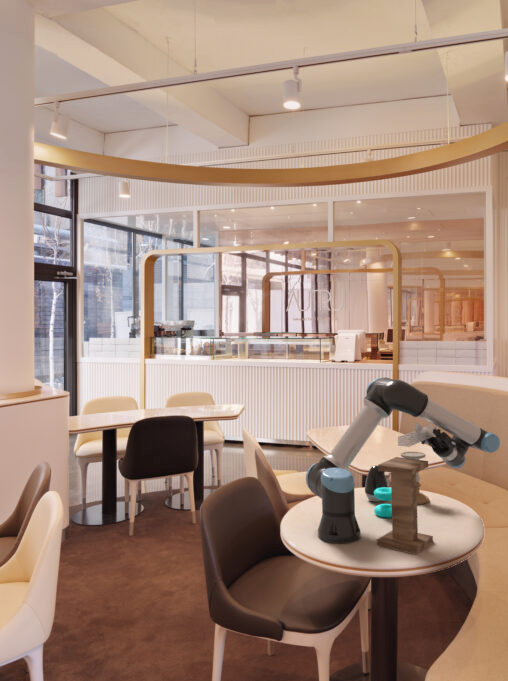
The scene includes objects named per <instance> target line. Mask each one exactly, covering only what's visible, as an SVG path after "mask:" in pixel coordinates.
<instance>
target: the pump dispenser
mask: <svg viewBox="0 0 508 681" xmlns="http://www.w3.org/2000/svg"><path fill="white" fill-rule="evenodd" d="M384 472H385V471H378V464H377V465H373V466H371V467H370V469H369V470H368V473H367V475H366V478H365V484H364V493H365V496H366V497H367V499H368V500H369V501H371V502H373V503H381V502H384V500H380V499H378V498H376V497H375V495H374V491H375V490H376V489H377V488H382V487H388V482H387V479H386V476H385V473H384Z"/></svg>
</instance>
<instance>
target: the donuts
mask: <svg viewBox="0 0 508 681" xmlns="http://www.w3.org/2000/svg"><path fill="white" fill-rule="evenodd" d="M374 495H375V497H376V498H378V499H380V500H384V501H386V502H387V501H388V502H390V501H391V502H392V495H391V487H390V488H389V487H382V488H377V489H376V490H375V491H374ZM384 501H383V502H384ZM373 511H374V514H375V515H376V516H378V517H380V518H385V517H386V519H392V518H391V517H392V503H381V504H377V505H376V506H375V507H374V510H373Z"/></svg>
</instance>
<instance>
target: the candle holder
mask: <svg viewBox="0 0 508 681" xmlns="http://www.w3.org/2000/svg"><path fill="white" fill-rule="evenodd" d="M426 456H427V455H426V453H424V452H421V451H404V452H401V453H400V458H407V459H415V460H421V459H424V458H425V457H426ZM419 473H420V472H417V473H416V483H417V505H425V504H427V503H429V500H430V498H429V496H427V495H426V494H425V493H422V492H420V488H421V486H422V485H421V483H420V481H421V477H420V474H419Z"/></svg>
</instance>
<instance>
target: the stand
mask: <svg viewBox="0 0 508 681" xmlns="http://www.w3.org/2000/svg"><path fill="white" fill-rule="evenodd" d="M377 466H378V471H385V472H388V473H390V488H391V495H392V501H391V504H392V518H391V525H392V526H391V528H392V529H391V530H390V531H388V532H387V533H385V534H384V535H382V536H381V537H379V538H378V539H376V541H377V542H376V544H377V546H379V547H383V548H386V549H390V548H391V550H396V551H400V552H403V551H404V553H408V554H412V555H419V553H421V552H422V551H423V550H424V549H426V547H428V546H429V545H431V544H433V542H434V536H433V535H430V534H425V533H421V532H420V533H419V532H418V531H419V529H418V528H419V526H418V525H419V524H418V504H417V483H416V473H417V472H418V473H420V472H421V471H422V470H423V471H424V470H425V469H427V468H429V460H421V459H419V460H415V459H407V458H403V457H398V456H396V457H393V458H391V459H388V460H386V461H383V462H382V463H379V464H377Z"/></svg>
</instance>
